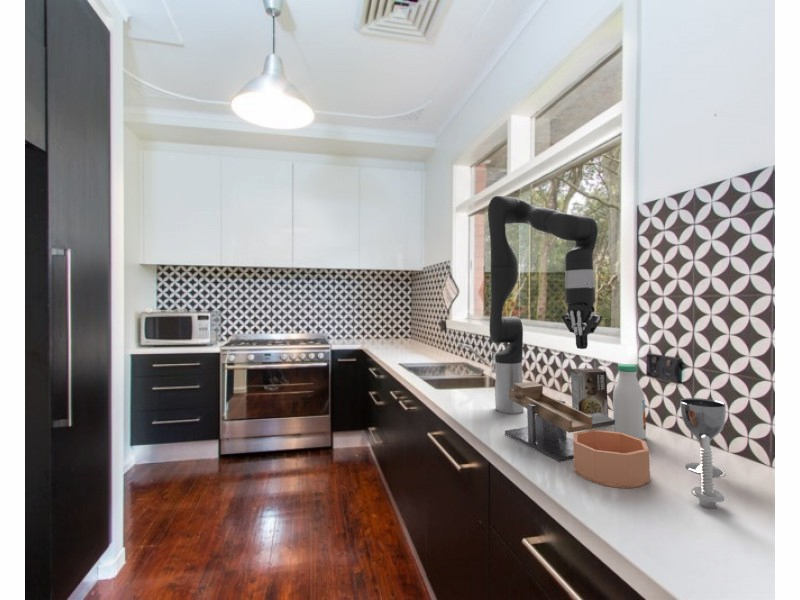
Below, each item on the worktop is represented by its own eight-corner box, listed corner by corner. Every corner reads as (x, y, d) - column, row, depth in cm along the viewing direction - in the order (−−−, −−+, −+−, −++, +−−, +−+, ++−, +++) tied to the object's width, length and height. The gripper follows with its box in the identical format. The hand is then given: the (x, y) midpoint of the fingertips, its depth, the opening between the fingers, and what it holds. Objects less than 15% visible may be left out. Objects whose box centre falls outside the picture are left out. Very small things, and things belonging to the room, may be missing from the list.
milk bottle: (640, 443, 103) (637, 368, 103) (609, 436, 109) (607, 365, 109) (650, 436, 108) (647, 364, 108) (620, 430, 114) (617, 361, 114)
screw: (690, 506, 71) (692, 495, 75) (725, 515, 68) (724, 503, 72) (688, 435, 72) (689, 428, 75) (722, 441, 68) (722, 433, 72)
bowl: (560, 465, 90) (559, 435, 90) (607, 456, 95) (606, 427, 95) (613, 493, 77) (611, 458, 77) (664, 480, 82) (663, 447, 82)
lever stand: (504, 434, 113) (503, 396, 113) (538, 428, 117) (537, 392, 117) (559, 462, 93) (557, 416, 93) (597, 454, 97) (596, 410, 97)
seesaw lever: (506, 398, 115) (507, 381, 114) (548, 393, 120) (549, 377, 119) (566, 433, 92) (567, 412, 92) (614, 424, 97) (616, 404, 97)
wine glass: (717, 481, 81) (714, 409, 81) (675, 467, 88) (672, 401, 88) (735, 472, 84) (732, 403, 85) (694, 459, 91) (691, 396, 92)
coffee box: (600, 417, 127) (598, 367, 127) (609, 423, 120) (607, 371, 120) (571, 417, 128) (570, 368, 128) (578, 423, 121) (576, 371, 121)
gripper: (552, 288, 113) (554, 347, 113) (587, 285, 101) (590, 352, 101) (572, 287, 116) (574, 345, 116) (609, 285, 103) (612, 350, 103)
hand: (581, 348), depth 108 cm, fingers closed
